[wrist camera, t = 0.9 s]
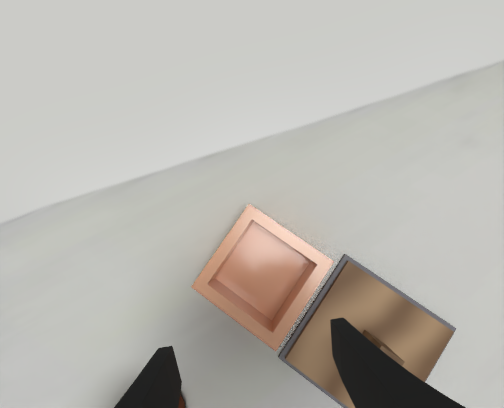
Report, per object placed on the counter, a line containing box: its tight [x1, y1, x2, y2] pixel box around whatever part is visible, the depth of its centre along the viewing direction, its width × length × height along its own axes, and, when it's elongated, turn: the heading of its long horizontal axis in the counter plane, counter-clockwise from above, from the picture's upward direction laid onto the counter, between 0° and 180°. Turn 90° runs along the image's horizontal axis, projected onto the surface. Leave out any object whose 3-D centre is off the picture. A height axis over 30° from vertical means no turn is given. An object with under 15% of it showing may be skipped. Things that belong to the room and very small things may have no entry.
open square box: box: [191, 204, 334, 351], centre depth 27 cm, size 10×10×4 cm
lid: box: [285, 261, 454, 408], centre depth 25 cm, size 13×13×5 cm
